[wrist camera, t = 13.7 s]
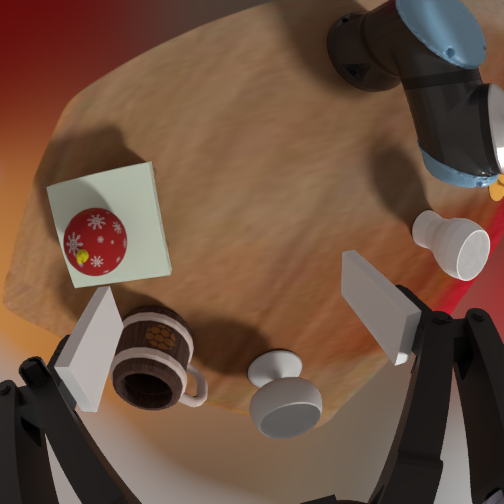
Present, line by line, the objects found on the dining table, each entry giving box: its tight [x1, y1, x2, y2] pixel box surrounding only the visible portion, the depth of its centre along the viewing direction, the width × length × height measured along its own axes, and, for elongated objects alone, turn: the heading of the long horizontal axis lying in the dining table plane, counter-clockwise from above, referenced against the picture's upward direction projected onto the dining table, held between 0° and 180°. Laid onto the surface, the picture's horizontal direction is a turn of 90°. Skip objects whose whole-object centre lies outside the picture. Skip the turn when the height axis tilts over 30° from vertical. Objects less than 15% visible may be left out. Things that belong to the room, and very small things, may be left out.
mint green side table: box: [47, 161, 172, 288], centre depth 42 cm, size 16×16×8 cm
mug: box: [110, 306, 207, 410], centre depth 49 cm, size 20×15×15 cm
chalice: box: [248, 350, 322, 439], centre depth 55 cm, size 14×14×15 cm
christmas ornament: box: [63, 208, 127, 276], centre depth 34 cm, size 9×9×10 cm
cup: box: [412, 210, 490, 281], centre depth 48 cm, size 11×11×15 cm
